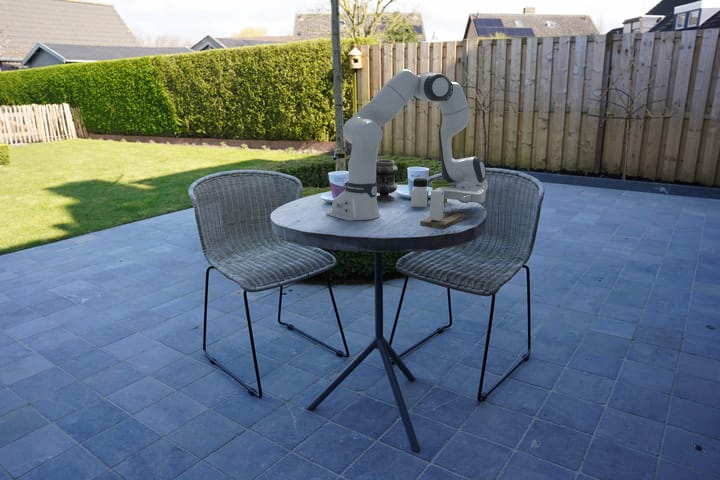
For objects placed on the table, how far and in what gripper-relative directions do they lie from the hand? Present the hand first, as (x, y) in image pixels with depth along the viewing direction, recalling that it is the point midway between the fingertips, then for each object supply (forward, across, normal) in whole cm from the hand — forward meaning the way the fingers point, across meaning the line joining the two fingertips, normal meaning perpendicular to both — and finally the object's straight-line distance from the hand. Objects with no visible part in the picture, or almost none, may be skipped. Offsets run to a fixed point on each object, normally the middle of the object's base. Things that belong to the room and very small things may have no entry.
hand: (451, 197), depth 197 cm
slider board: (+6, 0, +8) cm, 10 cm away
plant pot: (-25, -17, +8) cm, 31 cm away
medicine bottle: (-13, -21, +8) cm, 26 cm away
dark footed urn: (-15, -41, +8) cm, 44 cm away
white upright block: (+12, 0, +6) cm, 14 cm away
